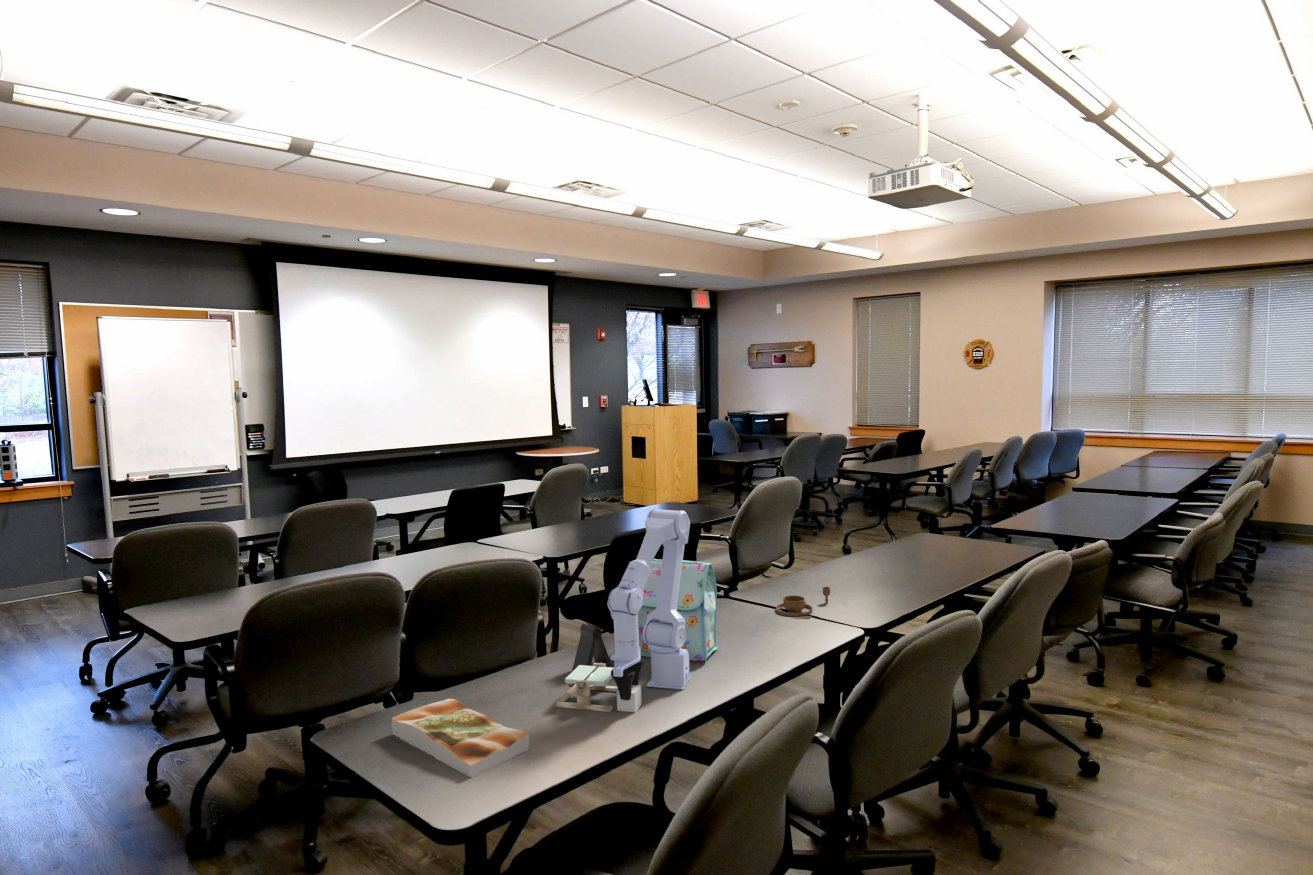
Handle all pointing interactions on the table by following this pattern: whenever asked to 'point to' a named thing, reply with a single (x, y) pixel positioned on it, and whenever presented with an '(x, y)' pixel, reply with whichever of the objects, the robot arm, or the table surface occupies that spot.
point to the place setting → (798, 605)
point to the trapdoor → (590, 675)
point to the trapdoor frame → (585, 695)
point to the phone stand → (591, 647)
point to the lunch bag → (686, 607)
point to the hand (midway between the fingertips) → (629, 694)
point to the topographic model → (459, 736)
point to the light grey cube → (630, 704)
